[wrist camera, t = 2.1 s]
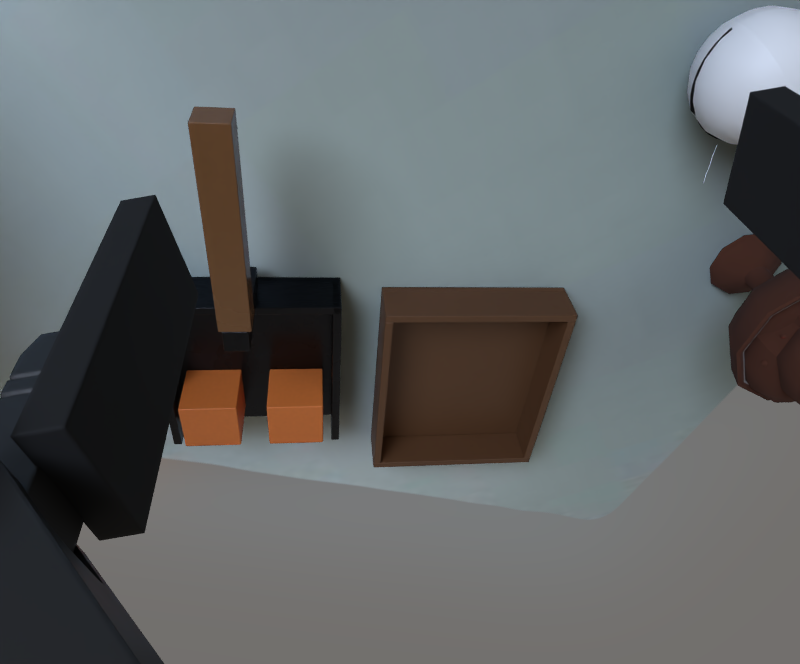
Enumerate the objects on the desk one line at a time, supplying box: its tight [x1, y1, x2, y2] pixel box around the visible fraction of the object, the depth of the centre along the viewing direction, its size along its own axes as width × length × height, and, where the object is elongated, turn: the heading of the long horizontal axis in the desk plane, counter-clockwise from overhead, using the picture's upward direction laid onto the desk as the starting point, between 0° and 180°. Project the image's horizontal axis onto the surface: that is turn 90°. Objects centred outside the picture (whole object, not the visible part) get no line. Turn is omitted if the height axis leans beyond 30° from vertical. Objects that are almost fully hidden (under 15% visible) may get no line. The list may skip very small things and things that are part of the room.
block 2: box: [267, 369, 323, 443], centre depth 50 cm, size 4×4×4 cm
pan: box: [169, 107, 342, 444], centre depth 42 cm, size 29×13×8 cm, turn 175°
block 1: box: [178, 370, 246, 446], centre depth 49 cm, size 4×4×4 cm
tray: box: [371, 287, 578, 467], centre depth 52 cm, size 17×14×4 cm
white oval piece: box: [687, 5, 800, 183], centre depth 36 cm, size 10×7×7 cm
